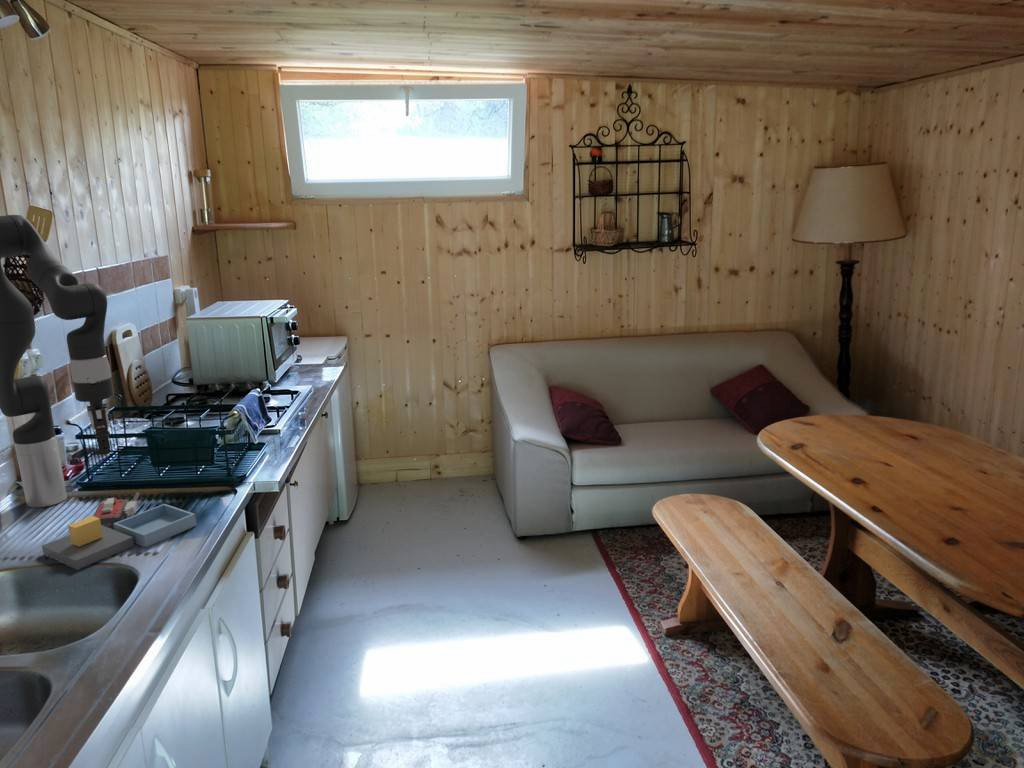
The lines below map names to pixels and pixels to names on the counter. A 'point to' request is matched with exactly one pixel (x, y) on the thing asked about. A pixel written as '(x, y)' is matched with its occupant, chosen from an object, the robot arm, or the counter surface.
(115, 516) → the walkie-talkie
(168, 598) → the counter surface
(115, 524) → the tray
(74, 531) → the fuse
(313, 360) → the counter surface
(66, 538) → the grey slotted base
